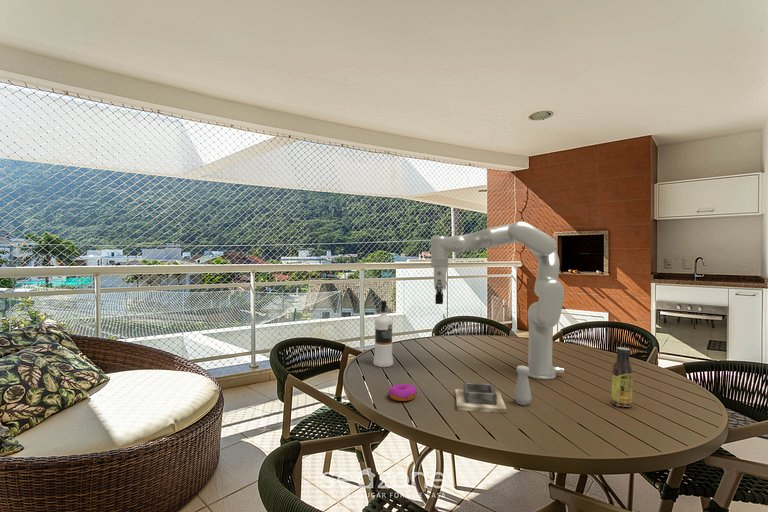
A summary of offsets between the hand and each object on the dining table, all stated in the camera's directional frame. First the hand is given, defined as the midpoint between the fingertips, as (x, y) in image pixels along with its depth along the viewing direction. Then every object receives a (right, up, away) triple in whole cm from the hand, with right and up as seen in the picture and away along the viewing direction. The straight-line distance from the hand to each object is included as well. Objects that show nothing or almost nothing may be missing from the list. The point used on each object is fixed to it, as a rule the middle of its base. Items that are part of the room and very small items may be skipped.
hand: (439, 302), depth 172 cm
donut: (-18, -31, -32) cm, 48 cm away
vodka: (-25, -30, +9) cm, 40 cm away
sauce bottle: (+58, -32, -37) cm, 76 cm away
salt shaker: (+24, -31, -36) cm, 53 cm away
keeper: (+9, -31, -36) cm, 48 cm away
